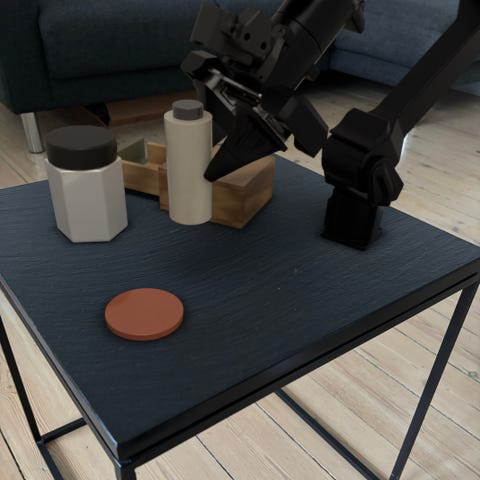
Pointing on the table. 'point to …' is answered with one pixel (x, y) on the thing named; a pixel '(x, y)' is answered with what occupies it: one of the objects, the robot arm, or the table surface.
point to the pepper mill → (188, 162)
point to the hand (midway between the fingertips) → (195, 171)
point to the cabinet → (233, 191)
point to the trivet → (144, 314)
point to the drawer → (141, 164)
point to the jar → (86, 183)
